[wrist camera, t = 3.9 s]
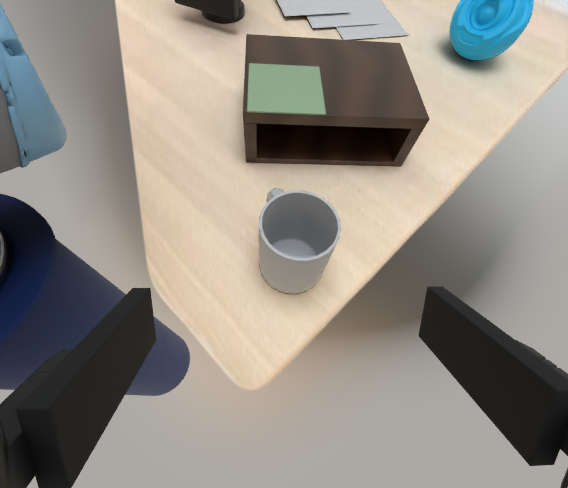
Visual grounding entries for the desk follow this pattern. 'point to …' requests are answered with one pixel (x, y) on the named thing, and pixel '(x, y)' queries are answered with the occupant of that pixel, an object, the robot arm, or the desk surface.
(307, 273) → the cup
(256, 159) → the shelf
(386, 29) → the paper stack
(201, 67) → the desk surface
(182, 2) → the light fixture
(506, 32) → the blue rounded piece
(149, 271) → the desk surface
